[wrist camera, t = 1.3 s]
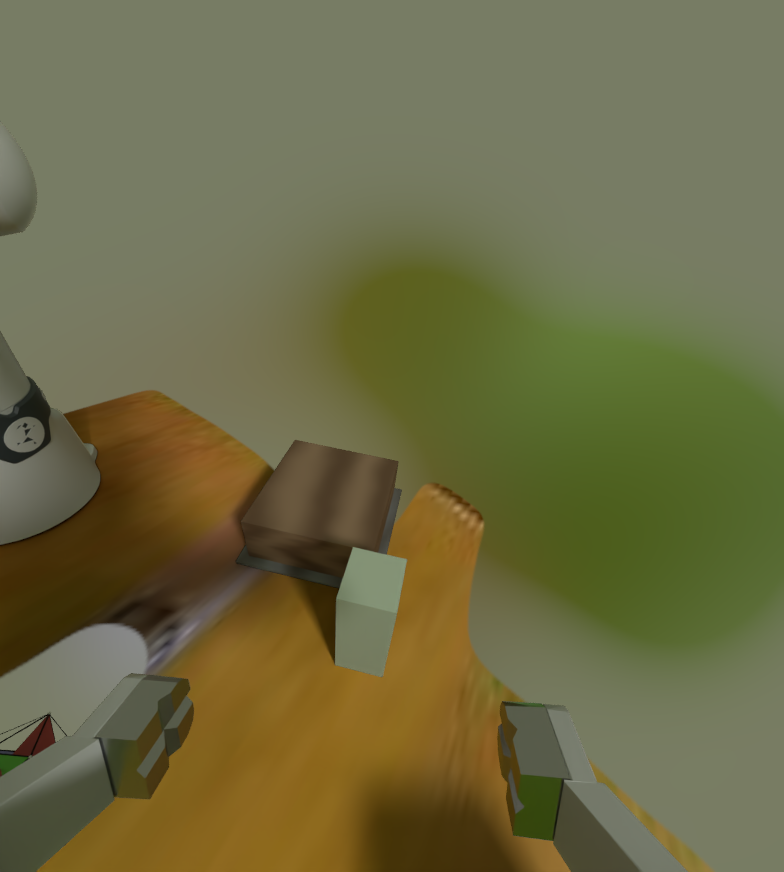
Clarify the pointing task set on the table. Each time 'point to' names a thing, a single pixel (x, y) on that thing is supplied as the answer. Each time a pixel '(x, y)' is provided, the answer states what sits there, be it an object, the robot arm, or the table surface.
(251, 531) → the base
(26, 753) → the geometric puzzle
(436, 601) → the table surface
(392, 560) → the pillar
